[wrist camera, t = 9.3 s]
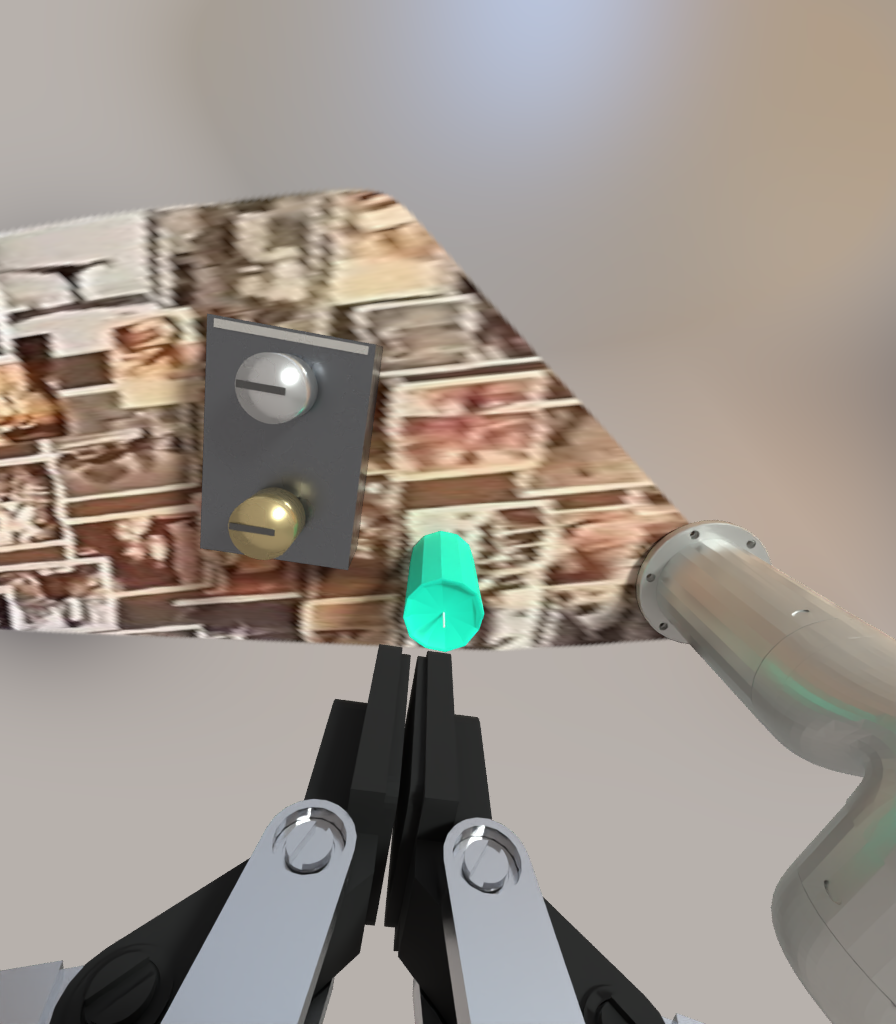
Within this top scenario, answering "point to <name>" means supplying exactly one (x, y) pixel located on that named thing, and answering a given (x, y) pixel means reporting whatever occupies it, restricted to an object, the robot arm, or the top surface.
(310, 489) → the mount
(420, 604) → the candle
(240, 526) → the knob
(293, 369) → the knob
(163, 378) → the top surface
